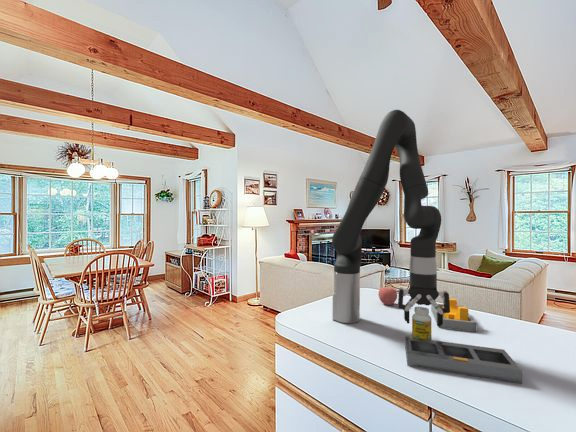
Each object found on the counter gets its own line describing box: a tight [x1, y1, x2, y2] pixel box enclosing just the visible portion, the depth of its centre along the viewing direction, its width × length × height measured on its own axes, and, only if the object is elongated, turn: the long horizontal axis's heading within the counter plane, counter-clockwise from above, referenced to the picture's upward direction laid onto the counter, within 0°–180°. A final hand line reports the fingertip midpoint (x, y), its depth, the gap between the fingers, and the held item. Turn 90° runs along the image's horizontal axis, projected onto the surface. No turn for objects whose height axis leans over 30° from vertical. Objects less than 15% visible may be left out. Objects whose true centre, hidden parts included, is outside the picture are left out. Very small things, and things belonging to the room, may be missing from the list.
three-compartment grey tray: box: [404, 336, 523, 385], centre depth 75 cm, size 24×11×3 cm, turn 71°
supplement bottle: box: [411, 306, 432, 340], centre depth 89 cm, size 5×5×10 cm
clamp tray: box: [430, 302, 477, 333], centre depth 106 cm, size 11×19×3 cm, turn 161°
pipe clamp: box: [442, 298, 469, 321], centre depth 106 cm, size 12×4×6 cm, turn 170°
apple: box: [378, 285, 398, 306], centre depth 125 cm, size 7×7×8 cm
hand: (423, 324), depth 90 cm, fingers open, 8 cm apart
